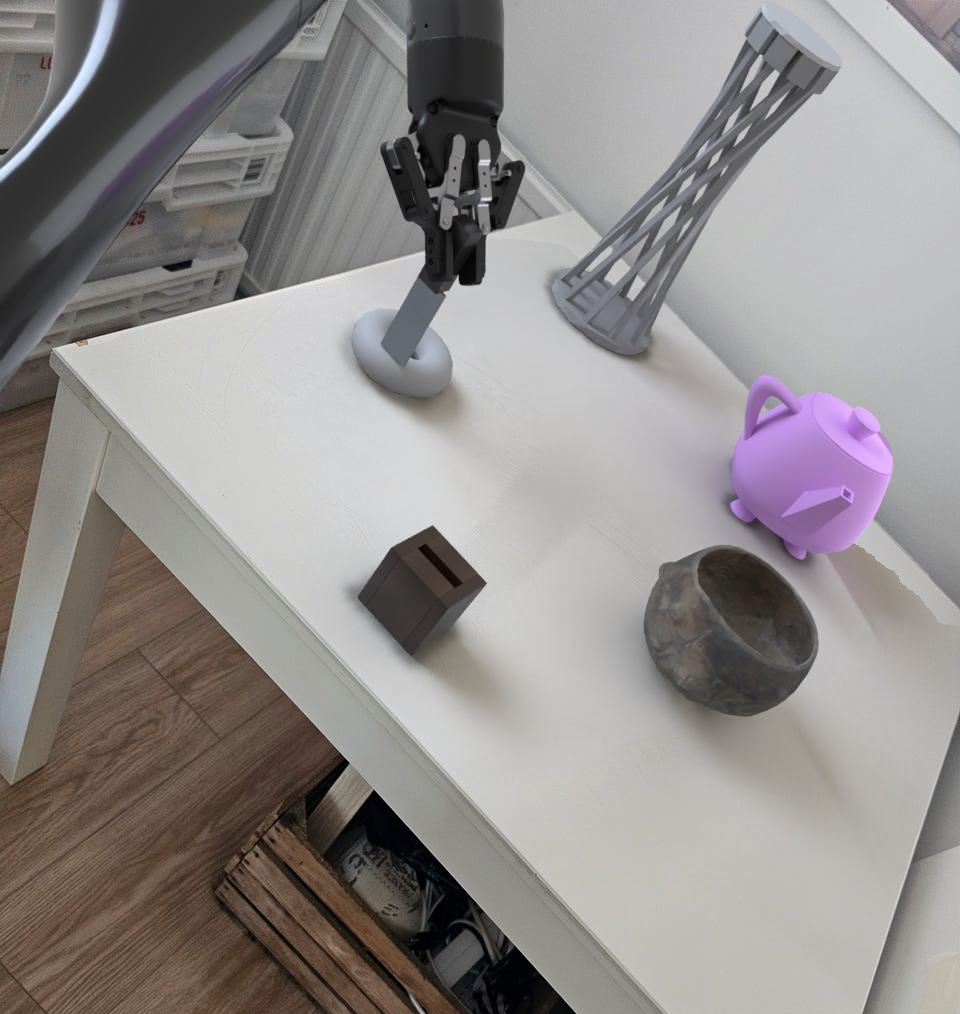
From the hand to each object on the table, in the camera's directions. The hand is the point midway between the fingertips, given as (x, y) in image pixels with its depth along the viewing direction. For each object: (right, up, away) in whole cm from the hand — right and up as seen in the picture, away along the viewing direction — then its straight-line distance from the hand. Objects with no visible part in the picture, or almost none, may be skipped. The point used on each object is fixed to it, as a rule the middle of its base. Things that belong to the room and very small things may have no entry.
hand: (456, 282), depth 84 cm
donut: (-6, -4, +13) cm, 15 cm away
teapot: (+33, -15, +31) cm, 47 cm away
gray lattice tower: (+16, +10, +40) cm, 44 cm away
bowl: (+20, -32, +8) cm, 39 cm away
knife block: (-4, -27, -5) cm, 28 cm away
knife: (-6, -4, +7) cm, 10 cm away
